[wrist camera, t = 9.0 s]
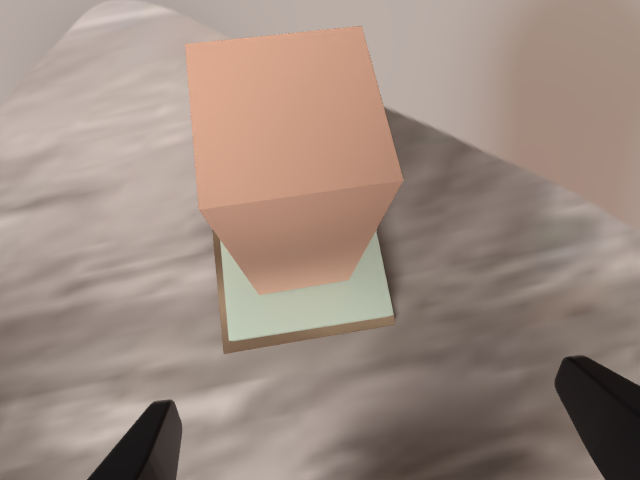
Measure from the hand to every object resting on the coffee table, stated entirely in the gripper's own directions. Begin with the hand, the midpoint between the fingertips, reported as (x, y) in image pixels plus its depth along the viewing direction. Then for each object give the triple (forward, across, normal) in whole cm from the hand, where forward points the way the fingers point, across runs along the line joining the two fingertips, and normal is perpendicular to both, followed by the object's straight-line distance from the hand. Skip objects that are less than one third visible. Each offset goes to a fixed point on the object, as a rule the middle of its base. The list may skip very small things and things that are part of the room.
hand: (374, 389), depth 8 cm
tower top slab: (+14, +1, +4) cm, 15 cm away
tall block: (+13, +1, +3) cm, 13 cm away
